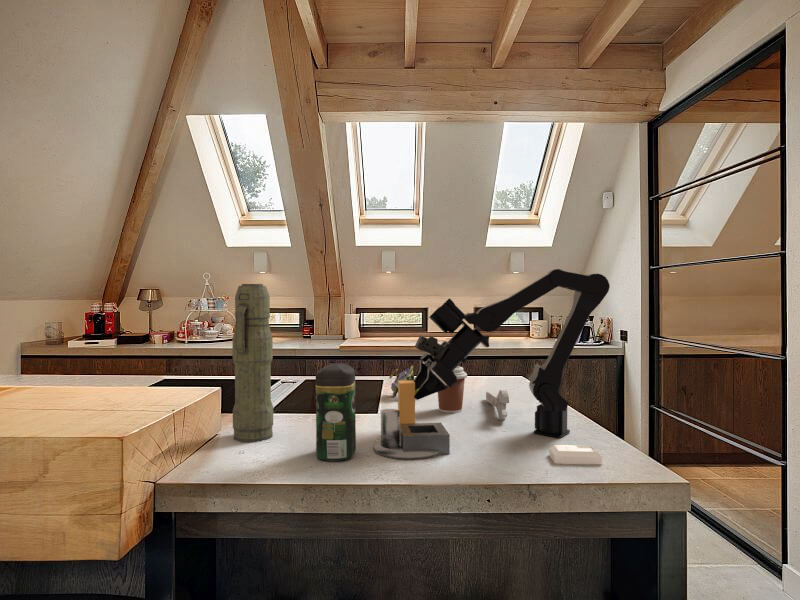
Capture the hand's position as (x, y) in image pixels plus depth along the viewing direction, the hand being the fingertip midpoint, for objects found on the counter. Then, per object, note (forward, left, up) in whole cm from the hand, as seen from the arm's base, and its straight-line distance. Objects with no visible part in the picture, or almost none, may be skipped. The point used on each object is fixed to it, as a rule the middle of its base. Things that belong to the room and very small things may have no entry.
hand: (412, 394), depth 121 cm
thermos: (+26, +26, -9) cm, 38 cm away
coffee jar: (+2, +23, -9) cm, 25 cm away
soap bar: (-37, -5, -10) cm, 39 cm away
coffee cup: (+5, -24, -9) cm, 26 cm away
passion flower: (+25, -30, -9) cm, 40 cm away
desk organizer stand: (-7, +10, -9) cm, 15 cm away
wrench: (-5, -31, -9) cm, 33 cm away
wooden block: (+1, +1, -9) cm, 9 cm away
